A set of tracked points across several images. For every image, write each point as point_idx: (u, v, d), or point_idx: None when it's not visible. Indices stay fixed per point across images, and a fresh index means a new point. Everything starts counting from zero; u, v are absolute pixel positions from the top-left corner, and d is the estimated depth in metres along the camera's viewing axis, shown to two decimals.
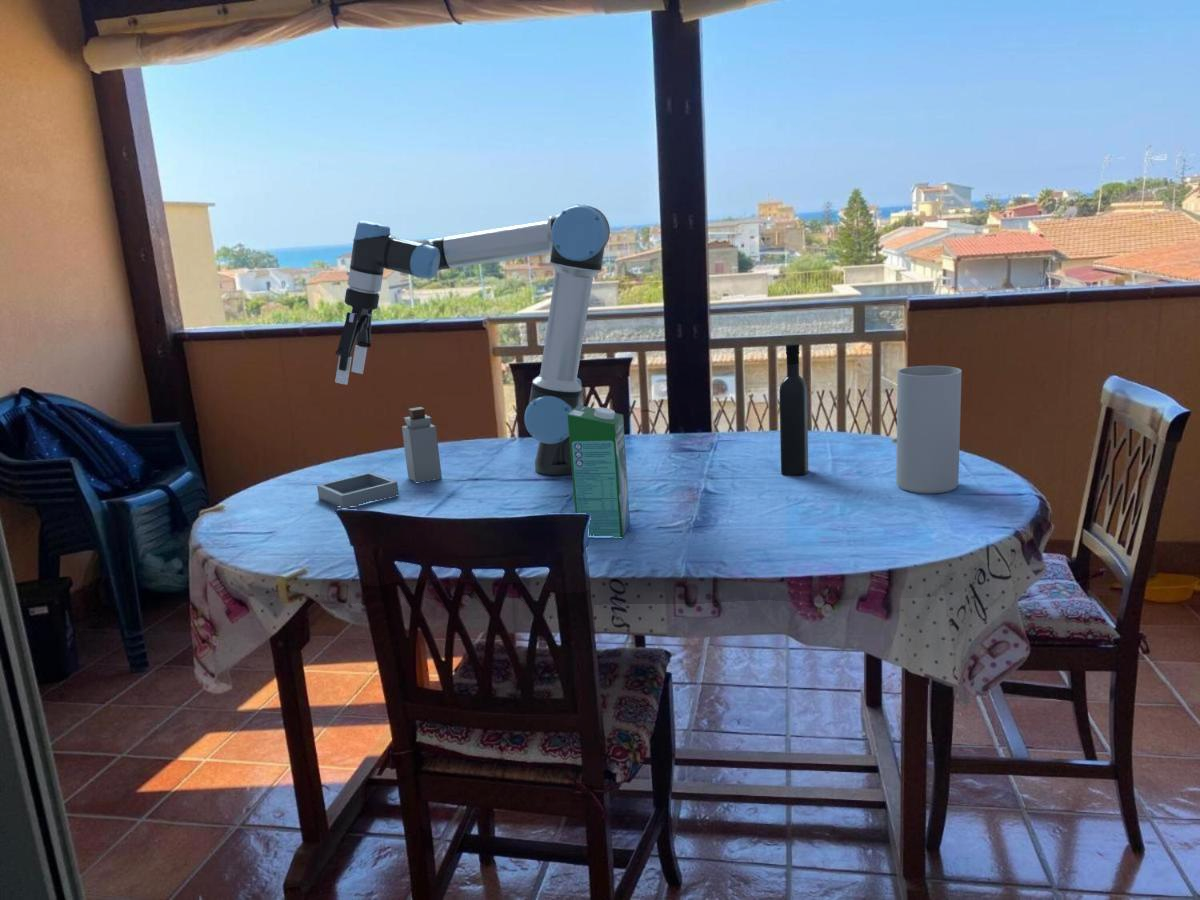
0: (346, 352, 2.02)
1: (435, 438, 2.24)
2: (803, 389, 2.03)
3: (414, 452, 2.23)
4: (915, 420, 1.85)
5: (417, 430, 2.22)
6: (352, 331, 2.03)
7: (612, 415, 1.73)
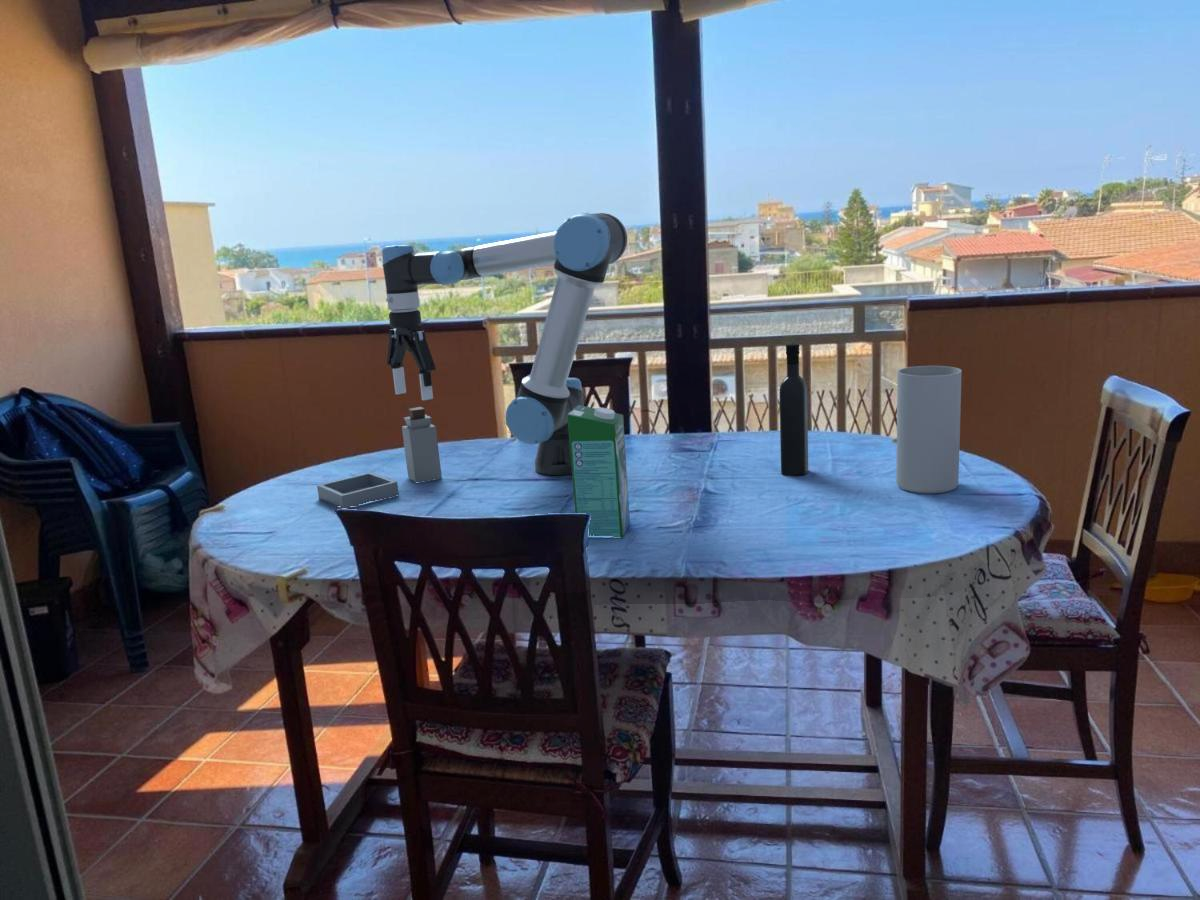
0: (434, 366, 2.15)
1: (435, 438, 2.24)
2: (803, 389, 2.03)
3: (414, 452, 2.23)
4: (915, 420, 1.85)
5: (417, 430, 2.22)
6: (427, 347, 2.15)
7: (612, 415, 1.73)
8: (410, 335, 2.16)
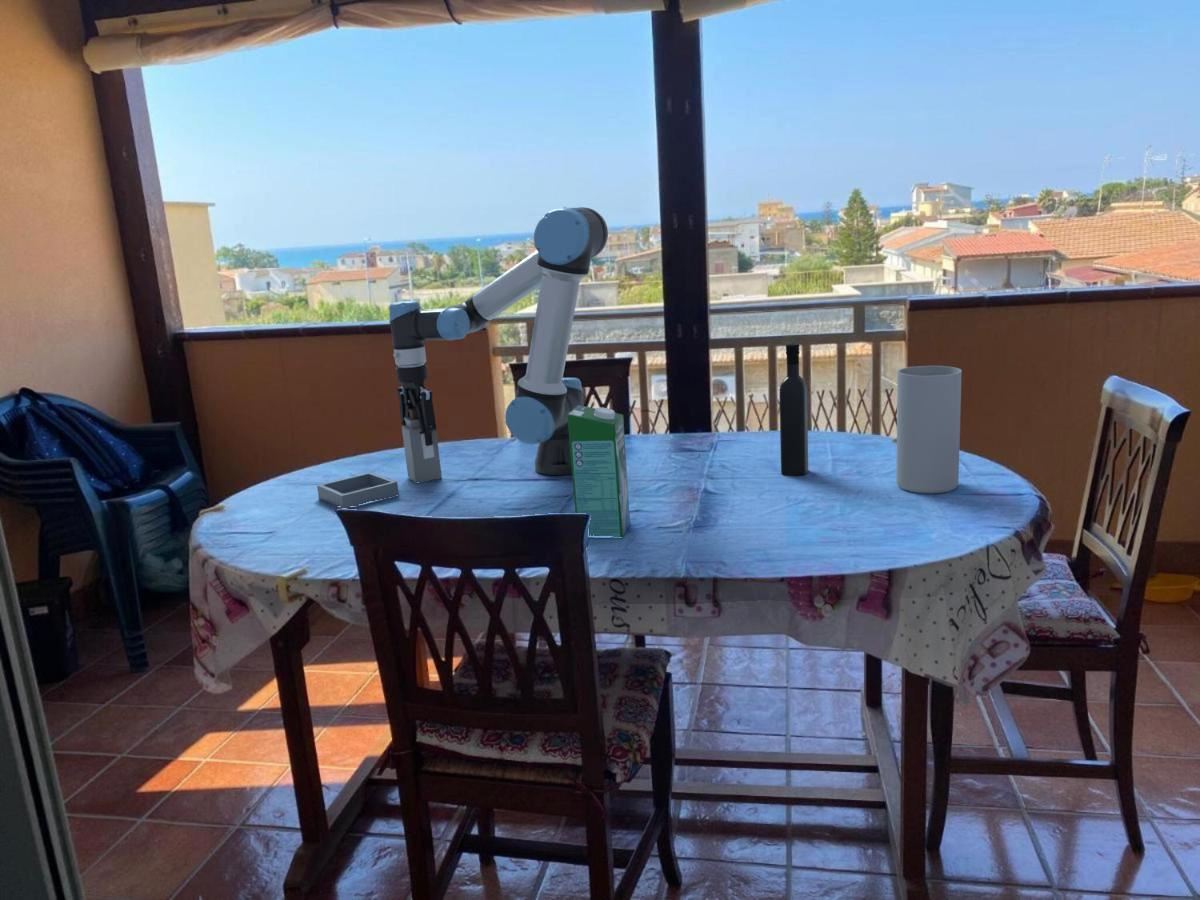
0: (434, 427, 2.21)
1: (435, 438, 2.24)
2: (803, 389, 2.03)
3: (414, 452, 2.22)
4: (915, 420, 1.85)
5: (417, 430, 2.22)
6: (432, 407, 2.20)
7: (612, 415, 1.73)
8: (417, 391, 2.20)
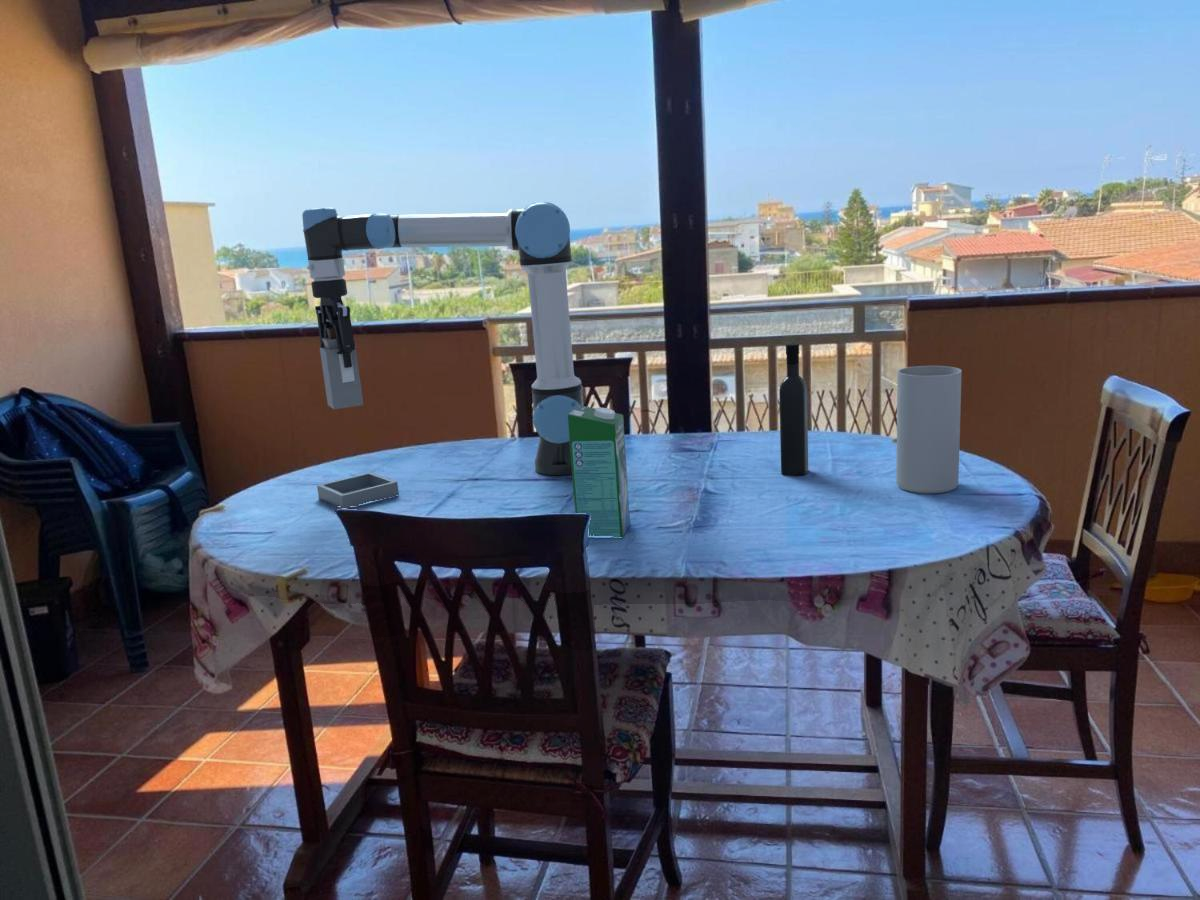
0: (353, 346, 2.02)
1: (355, 360, 2.06)
2: (803, 389, 2.03)
3: (331, 374, 2.04)
4: (915, 420, 1.85)
5: (334, 350, 2.03)
6: (350, 325, 2.01)
7: (612, 415, 1.73)
8: (334, 306, 2.01)
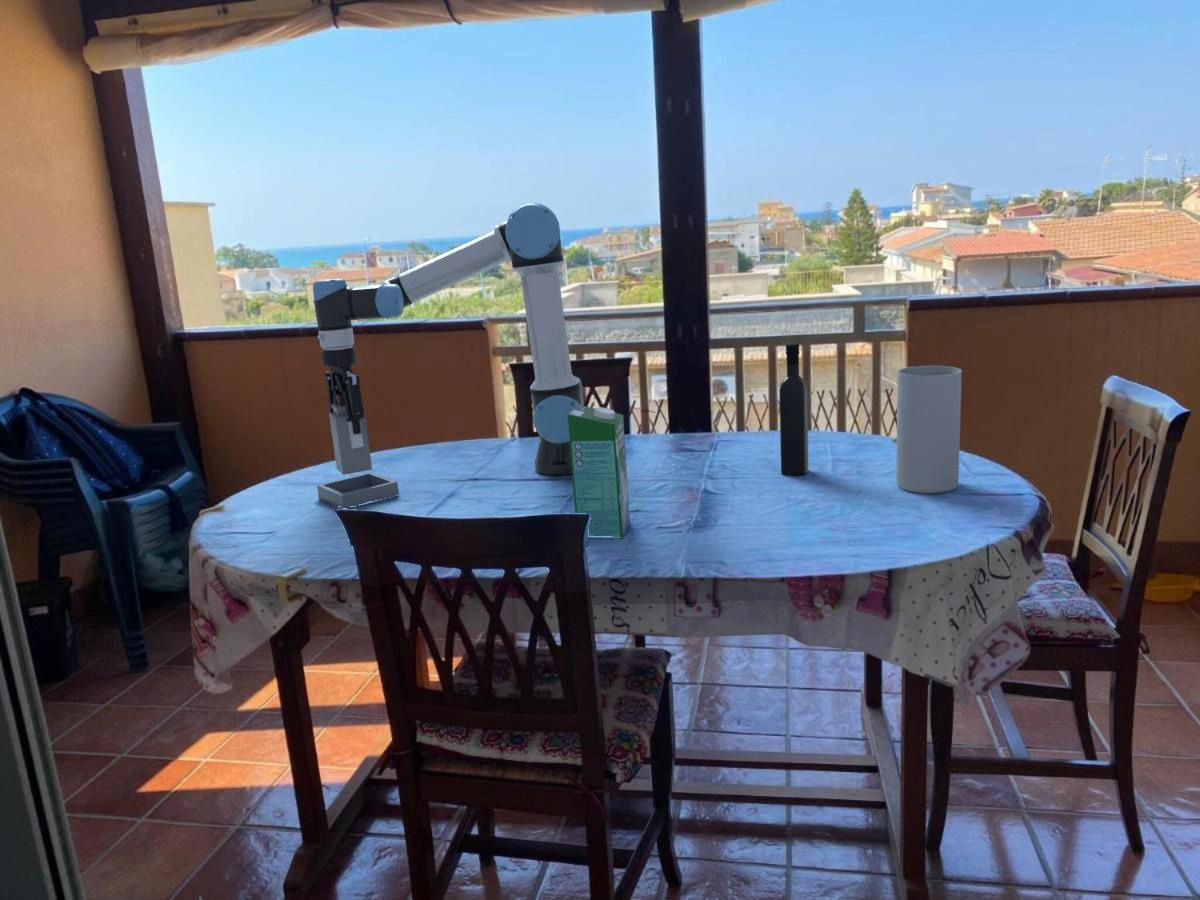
0: (362, 414, 2.06)
1: (364, 426, 2.10)
2: (803, 389, 2.03)
3: (341, 441, 2.08)
4: (915, 420, 1.85)
5: (344, 417, 2.07)
6: (359, 393, 2.05)
7: (612, 415, 1.73)
8: (343, 375, 2.05)
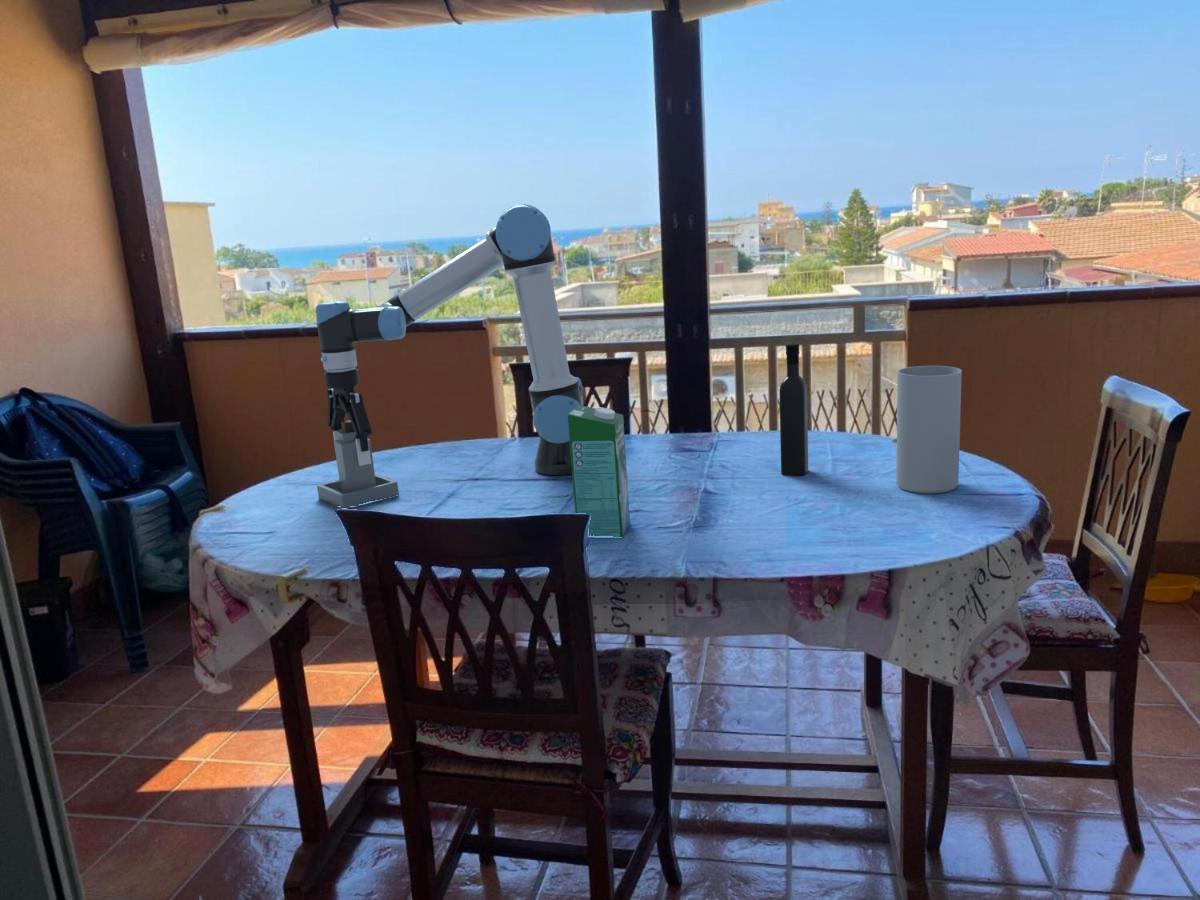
0: (370, 431, 2.05)
1: None
2: (803, 389, 2.03)
3: (347, 467, 2.09)
4: (915, 420, 1.85)
5: (350, 443, 2.09)
6: (364, 410, 2.05)
7: (612, 415, 1.73)
8: (347, 396, 2.06)
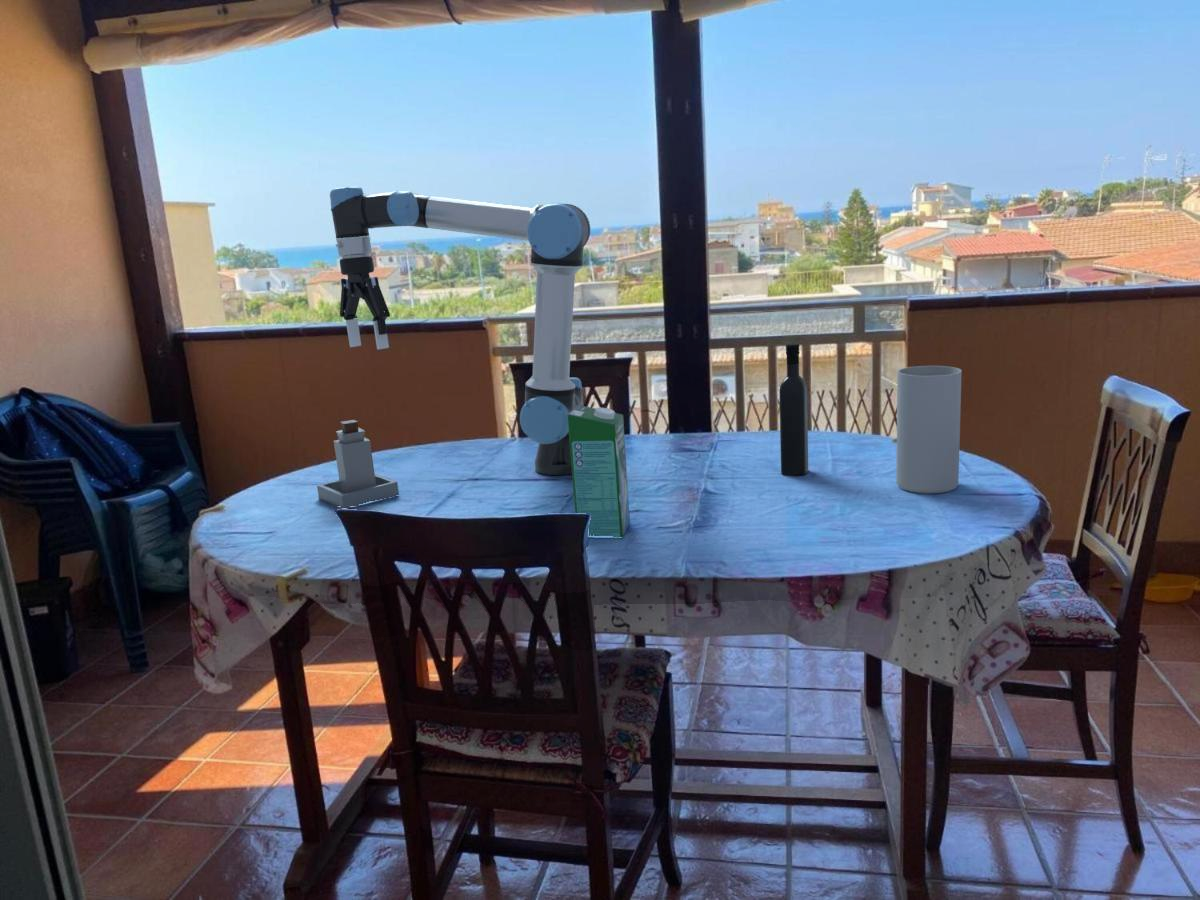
0: (388, 313, 2.06)
1: (369, 453, 2.11)
2: (803, 389, 2.03)
3: (347, 468, 2.09)
4: (915, 420, 1.85)
5: (350, 444, 2.08)
6: (380, 293, 2.06)
7: (612, 415, 1.73)
8: (362, 281, 2.07)
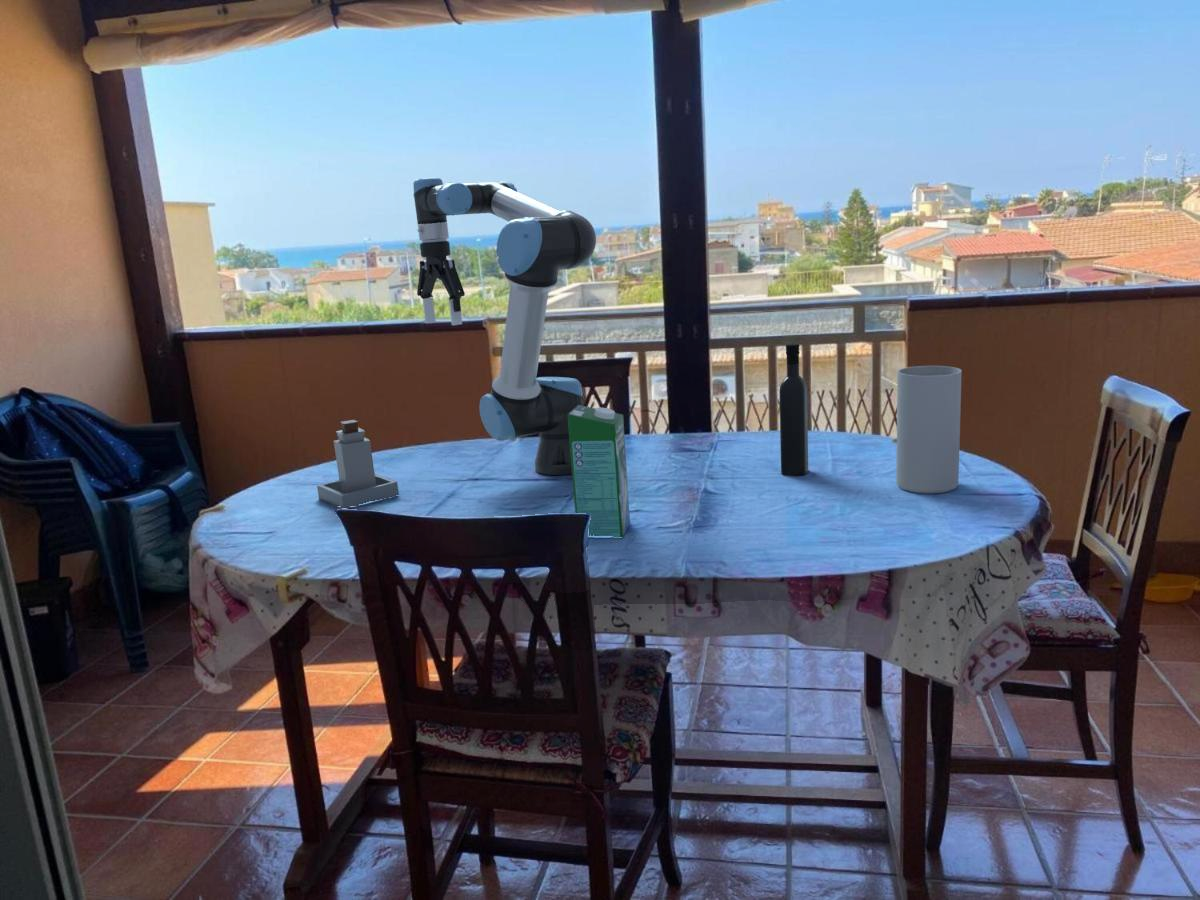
0: (463, 292, 2.28)
1: (369, 453, 2.11)
2: (803, 389, 2.03)
3: (347, 468, 2.09)
4: (915, 420, 1.85)
5: (350, 444, 2.08)
6: (456, 274, 2.29)
7: (612, 415, 1.73)
8: (440, 263, 2.30)
